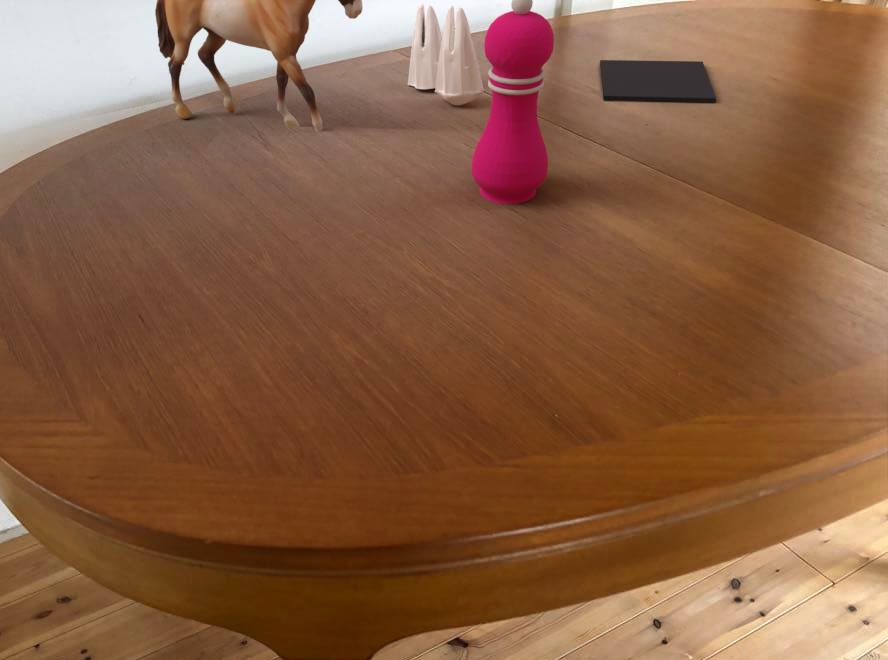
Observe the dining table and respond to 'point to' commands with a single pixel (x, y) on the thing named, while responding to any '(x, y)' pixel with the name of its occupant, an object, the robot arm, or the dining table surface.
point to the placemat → (656, 81)
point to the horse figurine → (241, 41)
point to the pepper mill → (514, 107)
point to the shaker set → (445, 57)
